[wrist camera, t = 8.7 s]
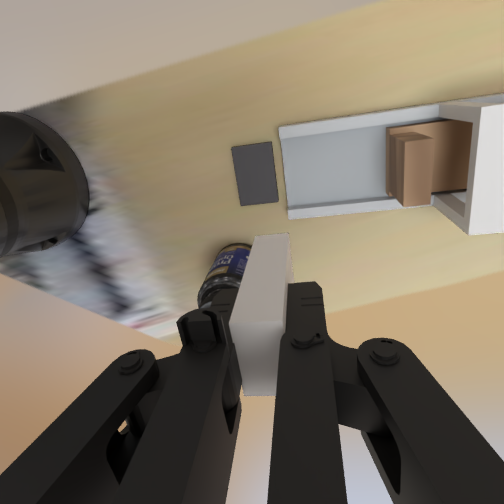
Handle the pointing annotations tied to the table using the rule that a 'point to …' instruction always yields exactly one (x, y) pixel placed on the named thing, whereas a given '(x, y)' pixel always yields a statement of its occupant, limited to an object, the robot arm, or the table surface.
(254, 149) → the dark grey flat block
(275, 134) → the table surface
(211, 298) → the pill bottle
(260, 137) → the table surface
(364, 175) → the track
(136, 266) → the table surface
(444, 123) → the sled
